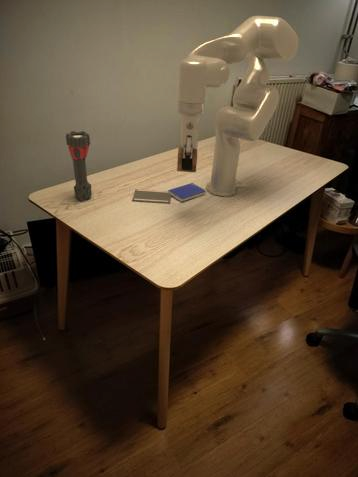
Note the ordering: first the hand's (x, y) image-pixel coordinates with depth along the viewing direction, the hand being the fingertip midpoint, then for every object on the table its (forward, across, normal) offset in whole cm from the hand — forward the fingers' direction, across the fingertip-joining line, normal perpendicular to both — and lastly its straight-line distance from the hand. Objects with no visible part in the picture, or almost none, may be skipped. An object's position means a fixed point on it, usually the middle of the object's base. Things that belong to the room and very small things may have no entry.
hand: (186, 165), depth 106 cm
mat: (+17, +10, +12) cm, 23 cm away
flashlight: (+18, +7, +37) cm, 41 cm away
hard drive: (+17, +14, -1) cm, 22 cm away
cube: (+1, 0, 0) cm, 1 cm away
